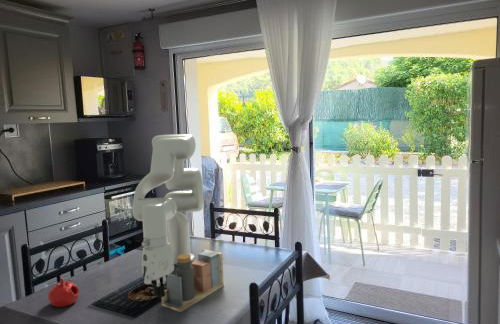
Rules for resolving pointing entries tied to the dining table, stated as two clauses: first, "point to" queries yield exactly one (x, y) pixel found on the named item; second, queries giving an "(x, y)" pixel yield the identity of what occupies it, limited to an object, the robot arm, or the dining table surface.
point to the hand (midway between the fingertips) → (159, 296)
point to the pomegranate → (63, 294)
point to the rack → (203, 278)
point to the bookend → (174, 291)
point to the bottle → (186, 276)
